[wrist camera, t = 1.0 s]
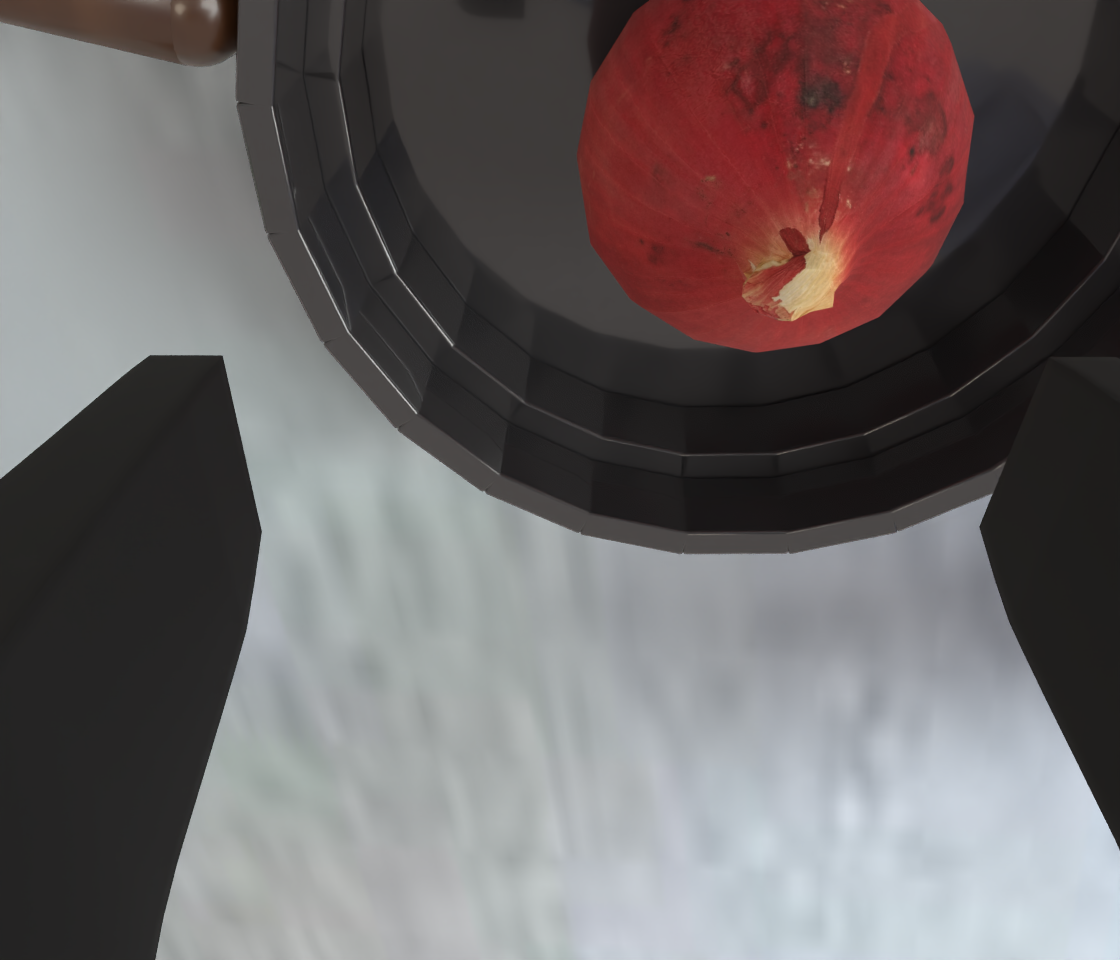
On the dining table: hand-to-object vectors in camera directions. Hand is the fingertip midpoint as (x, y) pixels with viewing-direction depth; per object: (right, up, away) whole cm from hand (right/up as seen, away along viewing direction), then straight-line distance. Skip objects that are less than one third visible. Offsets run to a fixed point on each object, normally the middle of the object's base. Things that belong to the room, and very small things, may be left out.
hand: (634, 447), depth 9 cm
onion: (+3, +7, +9) cm, 12 cm away
